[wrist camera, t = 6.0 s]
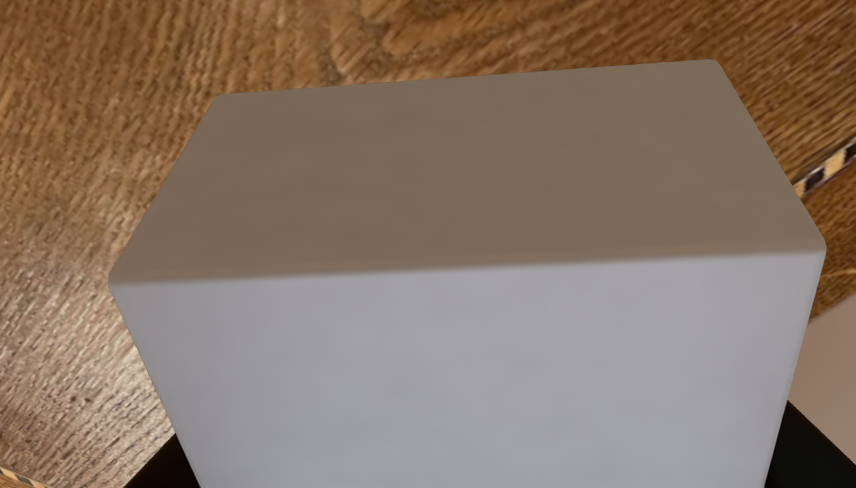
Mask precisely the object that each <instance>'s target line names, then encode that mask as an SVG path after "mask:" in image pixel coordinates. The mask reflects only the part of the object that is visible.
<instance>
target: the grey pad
mask: <svg viewBox="0 0 856 488" xmlns="http://www.w3.org/2000/svg"><path fill="white" fill-rule="evenodd" d="M826 248H827V247H826V244H825V240H824V238H823V236H822V235H821V233H820V231H819V230H818V228H817V226H816V225H815V223H814V221H813V220H812V218H811V216H810V215H809V213H808V211H807V210H806V208H805V206H804V205H803V203H802V201H801V200H800V198H799V196H798V195H797V193H796V191H795V190H794V188H793V186H792V185H791V183H790V181H789V180H788V178H787V176H786V175H785V173H784V171H783V170H782V168H781V166H780V165H779V163H778V161H777V160H776V158H775V156H774V155H773V153H772V151H771V150H770V148H769V146H768V145H767V143H766V141H765V140H764V138H763V136H762V135H761V133H760V131H759V130H758V128H757V126H756V125H755V123H754V121H753V120H752V118H751V116H750V115H749V113H748V111H747V109H746V108H745V106H744V104H743V103H742V101H741V99H740V98H739V96H738V94H737V93H736V91H735V89H734V88H733V86H732V84H731V83H730V81H729V79H728V78H727V76H726V74H725V73H724V71H723V69H722V68H721V66H720V64H719V63H718V62H717V61H715V60H711V59H705V60H691V61H678V62H664V63H650V64H636V65H622V66H608V67H594V68H580V69H567V70H553V71H539V72H525V73H511V74H497V75H483V76H469V77H455V78H442V79H428V80H414V81H400V82H386V83H372V84H358V85H344V86H330V87H317V88H303V89H289V90H275V91H261V92H247V93H233V94H221V95H219V96H217V97H215V98H214V99H213V101H212V103H211V104H210V106H209V108H208V109H207V111H206V113H205V114H204V116H203V118H202V119H201V121H200V123H199V124H198V126H197V128H196V129H195V131H194V133H193V134H192V136H191V138H190V139H189V141H188V143H187V144H186V146H185V148H184V149H183V151H182V153H181V154H180V156H179V158H178V159H177V161H176V163H175V164H174V166H173V168H172V169H171V171H170V173H169V174H168V176H167V178H166V179H165V181H164V183H163V184H162V186H161V188H160V189H159V191H158V193H157V194H156V196H155V198H154V199H153V201H152V203H151V204H150V206H149V208H148V209H147V211H146V213H145V214H144V216H143V218H142V219H141V221H140V223H139V224H138V226H137V228H136V229H135V231H134V233H133V234H132V236H131V238H130V240H129V241H128V243H127V245H126V246H125V248H124V250H123V251H122V253H121V255H120V256H119V258H118V260H117V261H116V263H115V265H114V266H113V268H112V270H111V271H110V273H109V277H108V285H109V289H110V291H111V293H112V296H113V298H114V300H115V302H116V304H117V307H118V309H119V311H120V313H121V315H122V317H123V320H124V322H125V324H126V326H127V328H128V330H129V333H130V335H131V337H132V339H133V341H134V344H135V346H136V348H137V350H138V352H139V354H140V357H141V359H142V361H143V363H144V365H145V367H146V370H147V372H148V374H149V376H150V378H151V381H152V383H153V385H154V387H155V389H156V391H157V394H158V396H159V398H160V400H161V402H162V405H163V407H164V409H165V411H166V413H167V415H168V418H169V420H170V422H171V424H172V426H173V428H174V431H175V433H176V435H177V437H178V439H179V442H180V444H181V446H182V448H183V450H184V452H185V455H186V457H187V459H188V461H189V463H190V465H191V468H192V470H193V472H194V474H195V476H196V479H197V481H198V483H199V485H200V487H201V488H764V485H765V481H766V477H767V474H768V470H769V466H770V462H771V459H772V455H773V451H774V447H775V444H776V440H777V436H778V432H779V428H780V425H781V421H782V417H783V413H784V410H785V406H786V402H787V398H788V394H789V390H790V387H791V383H792V379H793V376H794V371H795V368H796V364H797V361H798V356H799V353H800V349H801V345H802V342H803V338H804V334H805V330H806V327H807V323H808V319H809V315H810V312H811V308H812V304H813V300H814V297H815V293H816V289H817V285H818V281H819V278H820V274H821V270H822V266H823V263H824V259H825V255H826Z"/></svg>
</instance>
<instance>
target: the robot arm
mask: <svg viewBox="0 0 856 488" xmlns="http://www.w3.org/2000/svg"><path fill="white" fill-rule="evenodd" d="M123 488H201V487H200V485H199V483H198V481H197V479H196V476H195V474H194V472H193V470H192V468H191V465H190V463H189V461H188V459H187V457H186V455H185V452H184V450H183V448H182V446H181V444H180V442H179V439H178V437H177V435H176V433H175V434H174V435H173V436H172V437H171V438H170V439H169V440H168V441H167V442H166V443H165V444H164V445H163V446H162V447H161V448H160V449H159V451H158V452H157V453H156V454H155V455H154V456H153V457H152V458H151V459H150V460H149V461H148V462H147V463H146V464H145V465H144V466H143V467H142V468H141V470H140V471H139V472H138V473H137V474H136V475H135V476H134V477H133V478H132V479H131V480H130V481H129V482H128V483H127V484H126V485H125V486H124V487H123ZM764 488H856V465H855V464H854V463H853V462H852V461H851V460H850V459H849V458H848V457H847V456H846V455H845V454H844V453H843V452H842V451H841V450H840V449H838V448H837V447H836V446H835V445H834V444H833V443H832V442H831V441H830V440H829V439H828V438H827V437H826V436H825V435H824V434H823V433H821V431H820V430H819V429H818V428H817V427H815V426H814V425H813V424H812V423H811V422H810V421H809V420H808V419H807V418H806V417H805V416H804V415H803V414H802V413H801V412H800V411H799V410H798V409H797V408H796V407H795V406H793V405H792V404H791V403H790V402H789V401H788V400H787V402H786V406H785V410H784V413H783V417H782V421H781V425H780V428H779V432H778V436H777V440H776V444H775V447H774V451H773V455H772V459H771V462H770V466H769V470H768V474H767V477H766V481H765V485H764Z"/></svg>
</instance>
